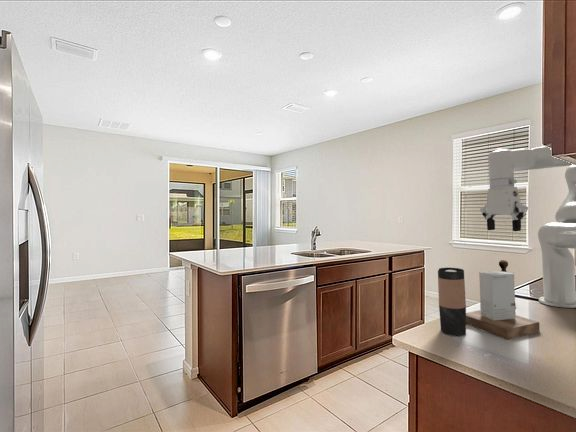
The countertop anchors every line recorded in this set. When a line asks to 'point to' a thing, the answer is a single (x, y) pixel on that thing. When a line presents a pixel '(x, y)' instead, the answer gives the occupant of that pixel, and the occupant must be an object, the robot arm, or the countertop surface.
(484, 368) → the countertop surface
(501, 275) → the skincare box
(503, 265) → the wooden pepper mill
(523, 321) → the walnut base board
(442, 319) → the travel mug
